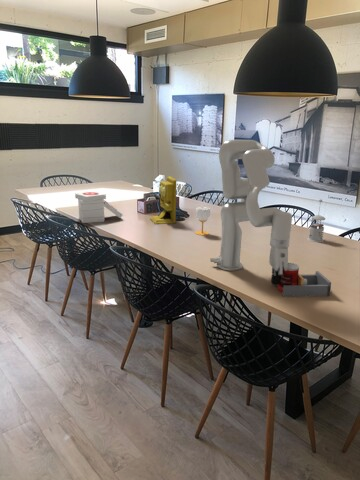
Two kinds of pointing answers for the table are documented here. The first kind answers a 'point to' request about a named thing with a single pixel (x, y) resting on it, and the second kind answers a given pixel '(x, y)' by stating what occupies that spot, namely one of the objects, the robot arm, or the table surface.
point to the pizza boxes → (93, 207)
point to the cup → (202, 218)
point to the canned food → (289, 276)
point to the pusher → (301, 280)
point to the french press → (316, 233)
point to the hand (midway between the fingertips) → (275, 283)
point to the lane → (309, 286)
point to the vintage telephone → (167, 202)
